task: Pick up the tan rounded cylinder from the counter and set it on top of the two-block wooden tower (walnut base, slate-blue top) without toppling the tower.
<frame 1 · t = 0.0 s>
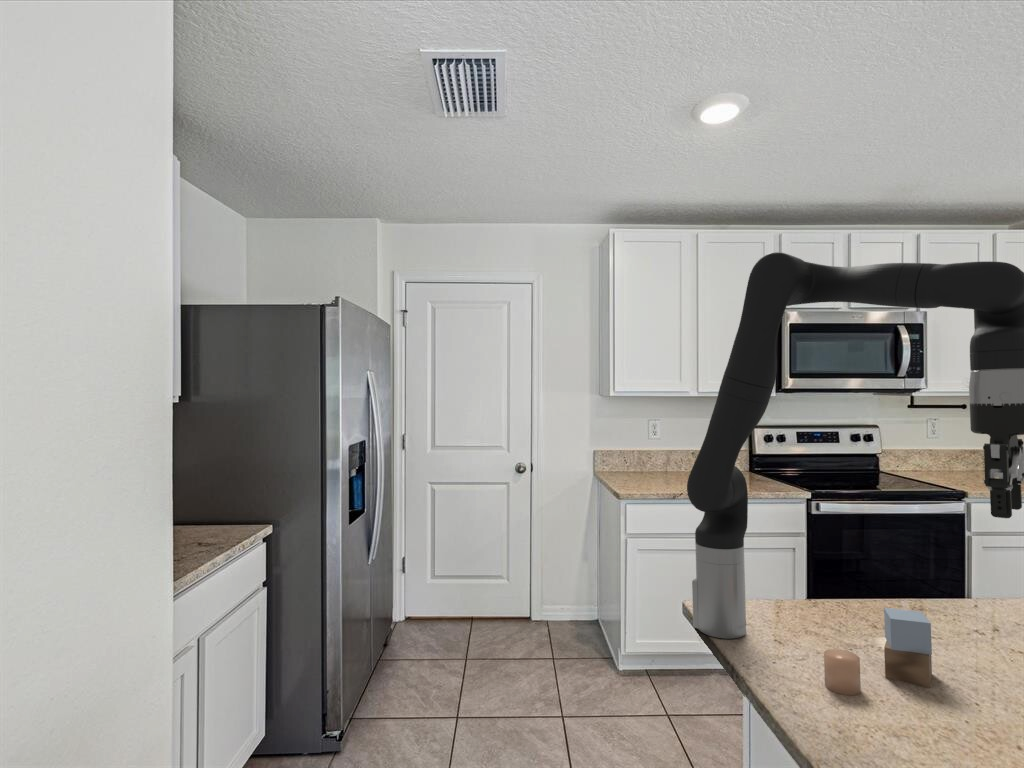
hand: (1006, 513, 84), 29 cm above the countertop, fingers open, 8 cm apart
tower base: (908, 676, 96), on the countertop, touching tower top
tan rounded cylinder: (842, 687, 93), on the countertop
tower top: (907, 645, 96), point 5 cm above the countertop, touching tower base
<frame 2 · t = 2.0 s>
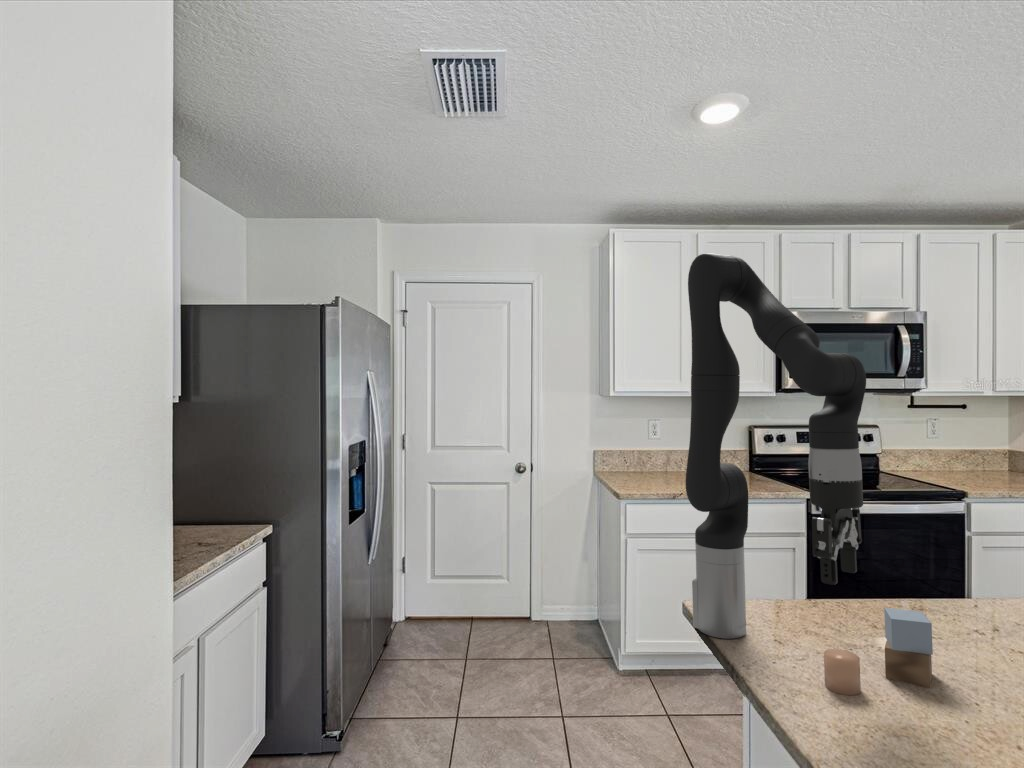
hand: (839, 577, 93), 17 cm above the countertop, fingers open, 8 cm apart
nothing on the countertop moved.
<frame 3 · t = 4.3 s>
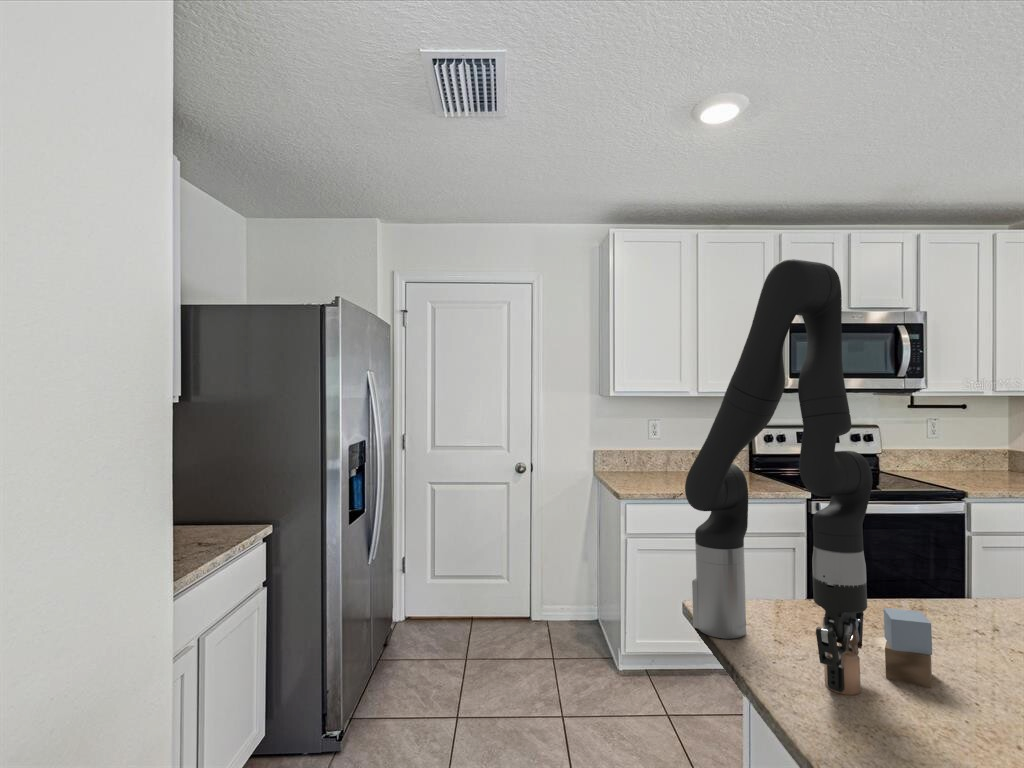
hand: (842, 683, 93), 1 cm above the countertop, fingers closed on tan rounded cylinder, 5 cm apart
tan rounded cylinder: (842, 686, 93), on the countertop, touching gripper
everything else where it was.
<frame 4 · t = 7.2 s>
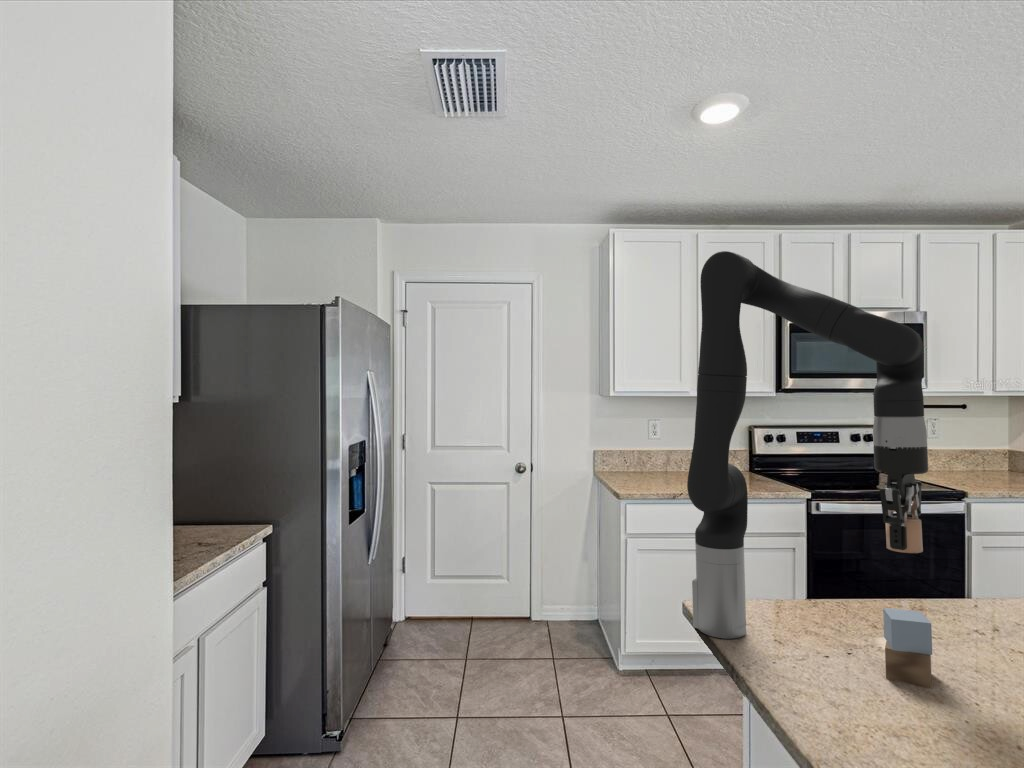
hand: (903, 545, 97), 21 cm above the countertop, fingers closed on tan rounded cylinder, 5 cm apart
tan rounded cylinder: (904, 549, 97), point 21 cm above the countertop, touching gripper
everything else where it was.
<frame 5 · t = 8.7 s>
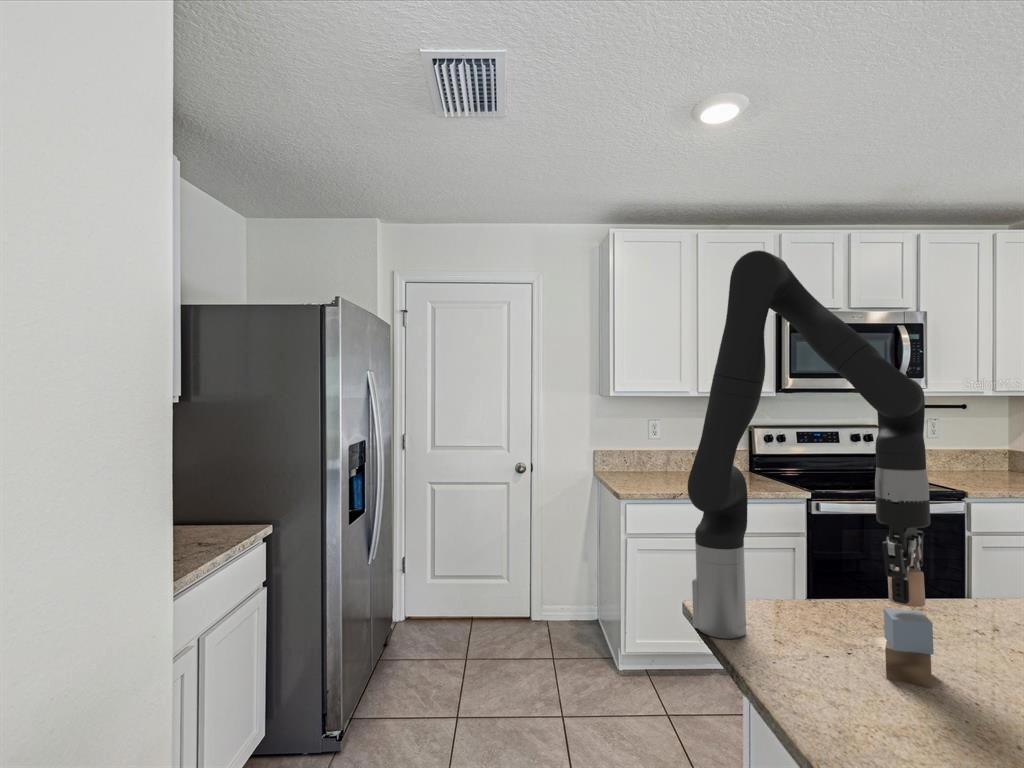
hand: (905, 597, 97), 13 cm above the countertop, fingers closed on tan rounded cylinder, 5 cm apart
tan rounded cylinder: (906, 601, 97), point 12 cm above the countertop, touching gripper
everything else where it was.
when the fingers open (12 cm above the countertop, at t = 10.1 s): tan rounded cylinder drops 1 cm, resting on tower top.
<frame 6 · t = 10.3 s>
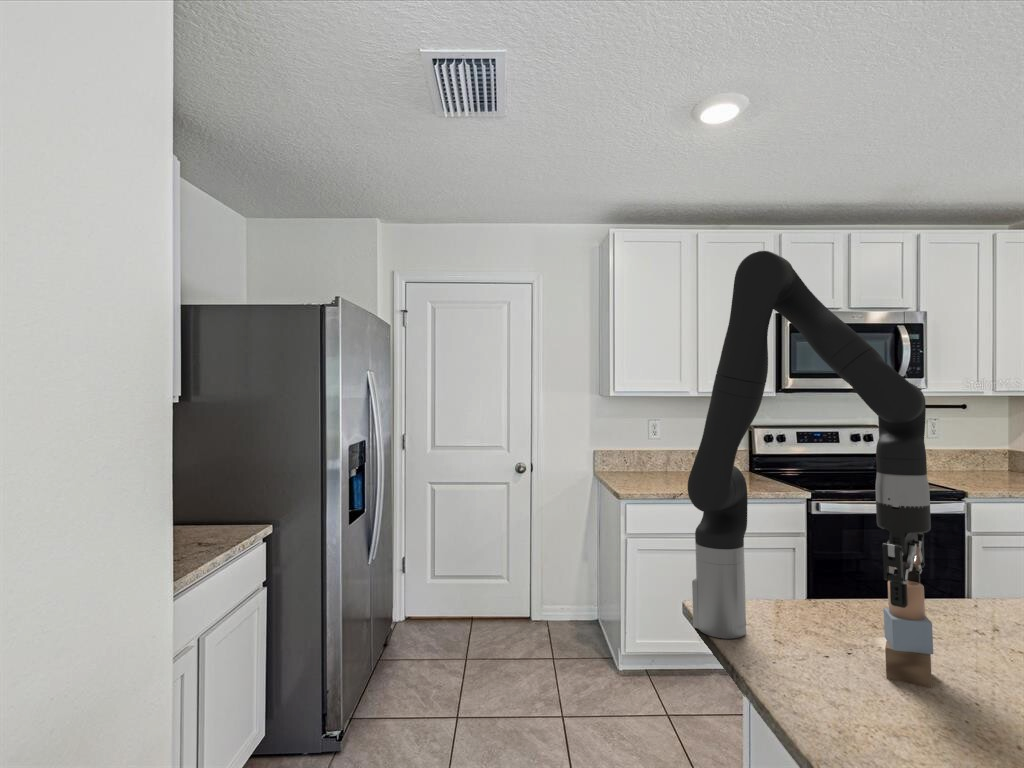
hand: (905, 600, 97), 12 cm above the countertop, fingers open, 7 cm apart
tan rounded cylinder: (906, 614, 97), point 10 cm above the countertop, touching tower top
tower top: (908, 645, 96), point 5 cm above the countertop, touching tan rounded cylinder, tower base
everything else where it was.
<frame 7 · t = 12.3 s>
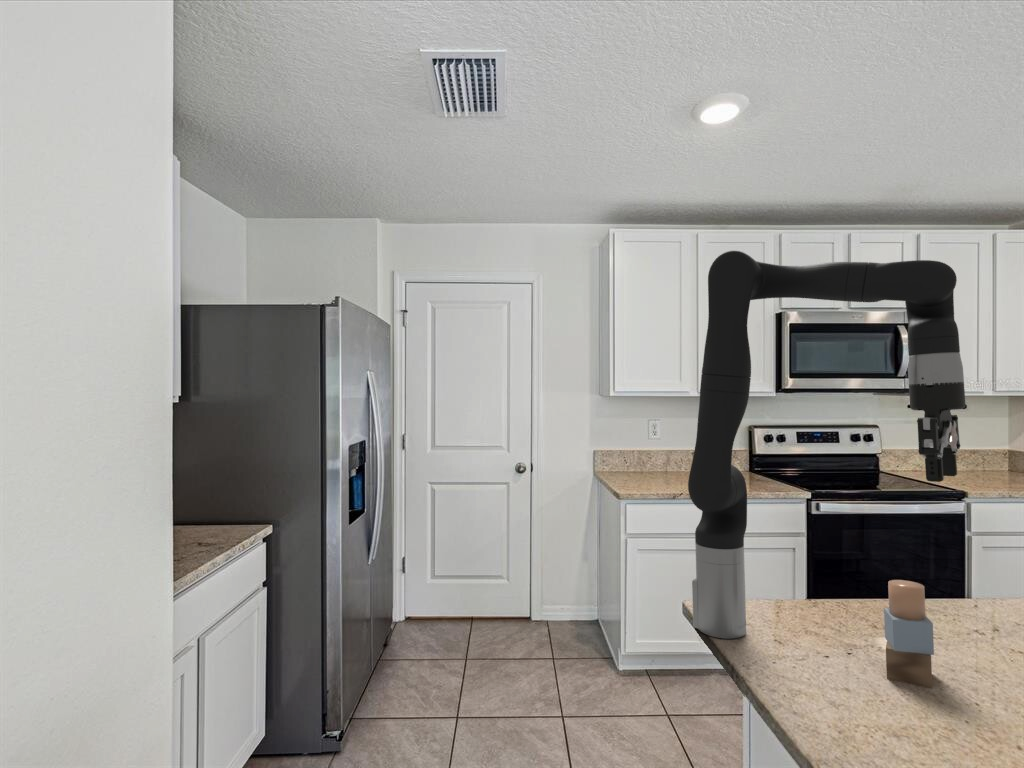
hand: (942, 478, 97), 32 cm above the countertop, fingers open, 8 cm apart
nothing on the countertop moved.
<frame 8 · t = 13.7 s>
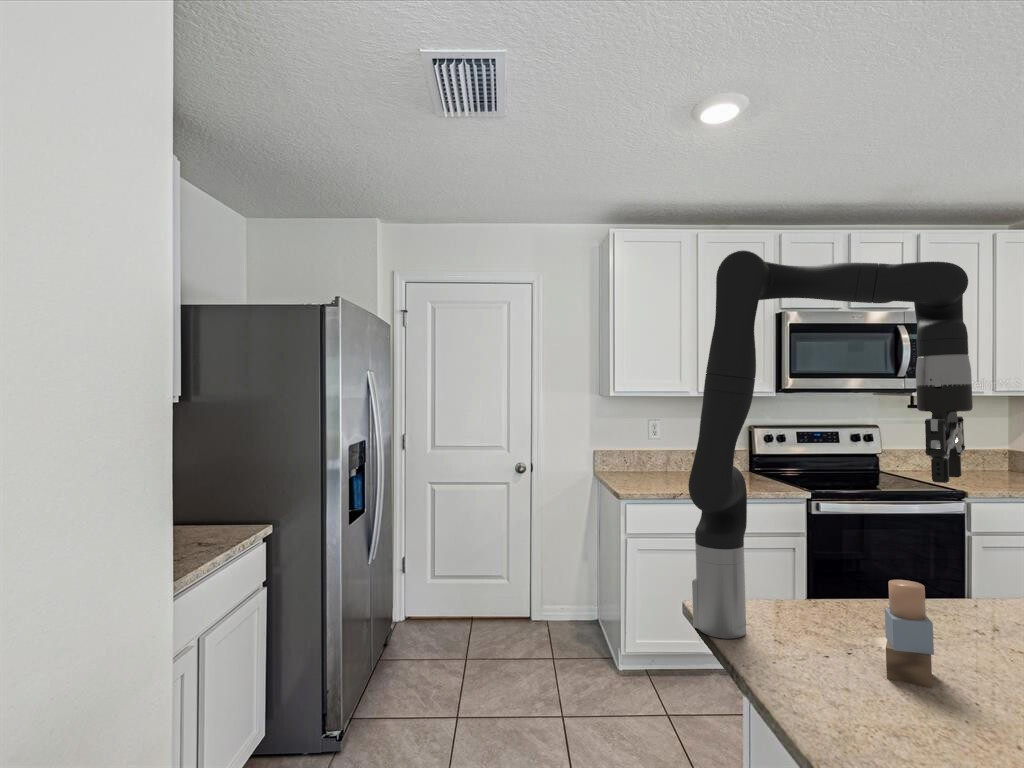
hand: (947, 479, 98), 32 cm above the countertop, fingers open, 8 cm apart
nothing on the countertop moved.
at the end: tan rounded cylinder 0.2 cm off-centre on the tower base, point 10.0 cm above the tower base's base; tower top tilted 0°; the gripper is holding nothing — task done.
